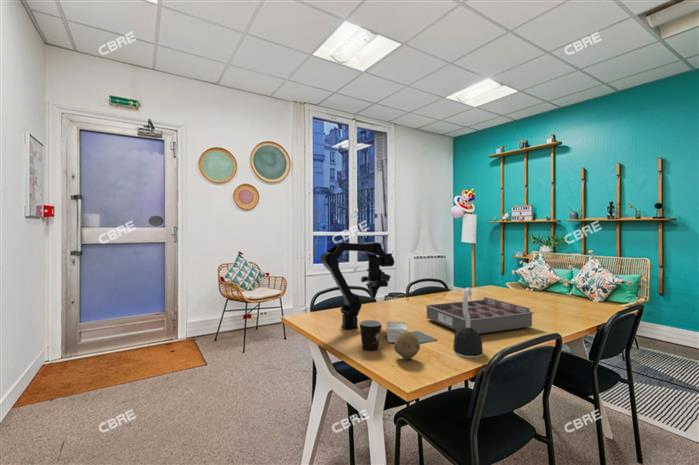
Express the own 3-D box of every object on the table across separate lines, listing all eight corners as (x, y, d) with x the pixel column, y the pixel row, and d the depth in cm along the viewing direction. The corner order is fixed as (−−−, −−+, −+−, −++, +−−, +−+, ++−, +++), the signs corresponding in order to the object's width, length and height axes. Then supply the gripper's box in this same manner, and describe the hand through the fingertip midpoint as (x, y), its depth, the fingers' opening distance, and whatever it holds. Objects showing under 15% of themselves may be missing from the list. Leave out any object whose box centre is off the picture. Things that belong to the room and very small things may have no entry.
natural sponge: (423, 364, 117) (423, 335, 117) (398, 365, 116) (398, 336, 116) (416, 354, 126) (416, 328, 126) (392, 355, 125) (392, 328, 125)
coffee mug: (366, 353, 127) (366, 327, 127) (355, 346, 135) (355, 321, 134) (391, 348, 132) (392, 323, 132) (380, 342, 140) (380, 318, 140)
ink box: (405, 321, 152) (408, 331, 138) (405, 332, 152) (408, 343, 138) (386, 320, 153) (387, 330, 138) (386, 331, 153) (387, 342, 138)
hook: (456, 345, 136) (456, 284, 136) (485, 350, 130) (485, 286, 130) (449, 354, 126) (449, 288, 126) (480, 360, 120) (480, 291, 120)
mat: (402, 346, 134) (402, 345, 134) (384, 336, 147) (384, 335, 147) (437, 340, 142) (437, 339, 142) (417, 331, 155) (417, 330, 155)
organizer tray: (424, 320, 174) (424, 301, 174) (484, 313, 189) (484, 296, 189) (466, 339, 144) (466, 316, 144) (534, 329, 159) (534, 308, 159)
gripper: (397, 268, 161) (397, 301, 161) (379, 265, 179) (379, 294, 179) (377, 269, 157) (376, 302, 157) (360, 265, 174) (360, 295, 174)
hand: (373, 298), depth 167 cm, fingers closed
